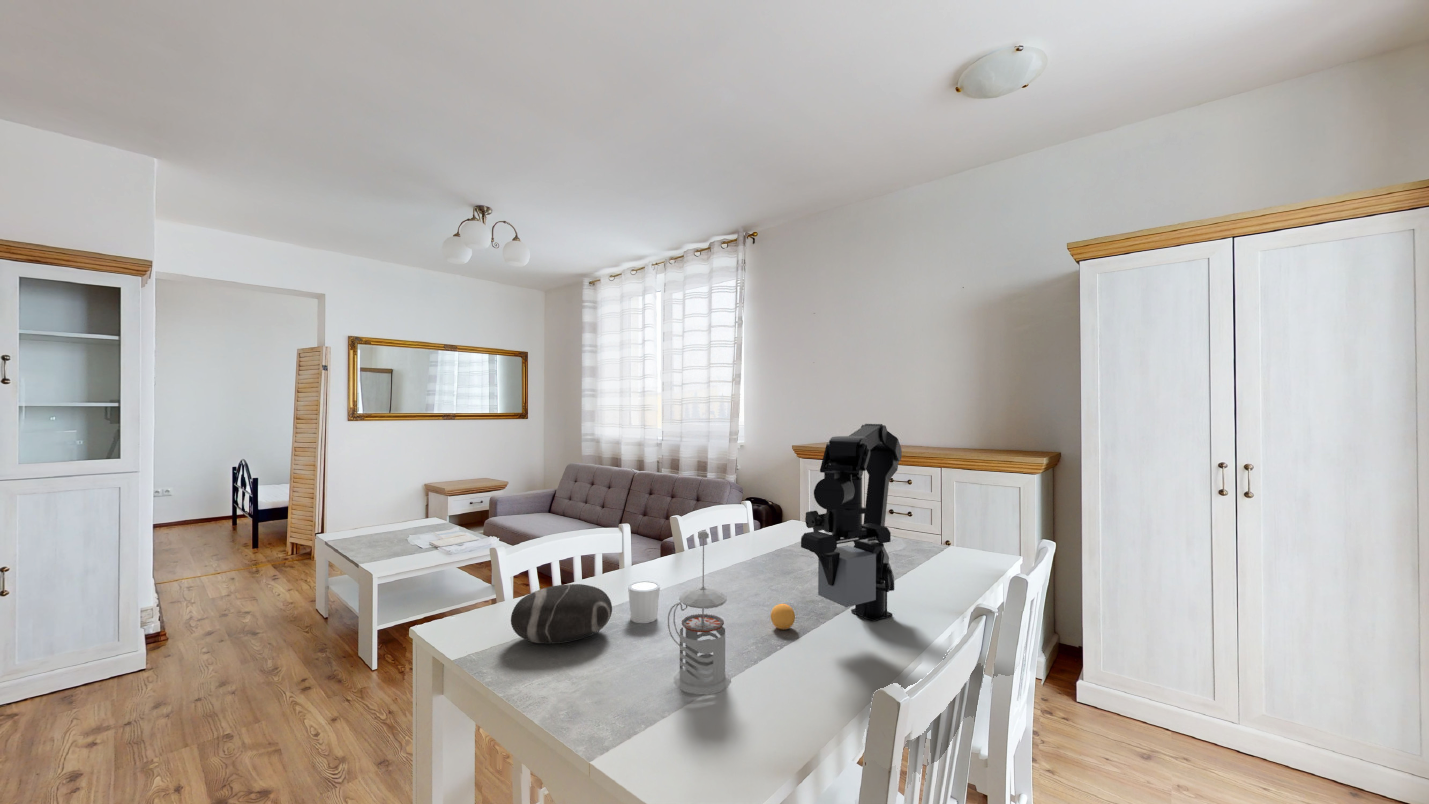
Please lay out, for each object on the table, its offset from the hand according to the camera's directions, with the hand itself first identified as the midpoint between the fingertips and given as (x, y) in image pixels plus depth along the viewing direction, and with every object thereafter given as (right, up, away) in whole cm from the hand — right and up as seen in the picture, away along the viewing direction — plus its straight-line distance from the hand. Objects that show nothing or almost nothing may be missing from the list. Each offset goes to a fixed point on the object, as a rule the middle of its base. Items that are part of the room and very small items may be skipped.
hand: (846, 581), depth 109 cm
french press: (-28, -12, -14) cm, 34 cm away
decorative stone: (-56, -12, +1) cm, 57 cm away
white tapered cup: (-41, -12, +12) cm, 44 cm away
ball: (-12, -9, +7) cm, 16 cm away
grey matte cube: (0, -3, 0) cm, 3 cm away
